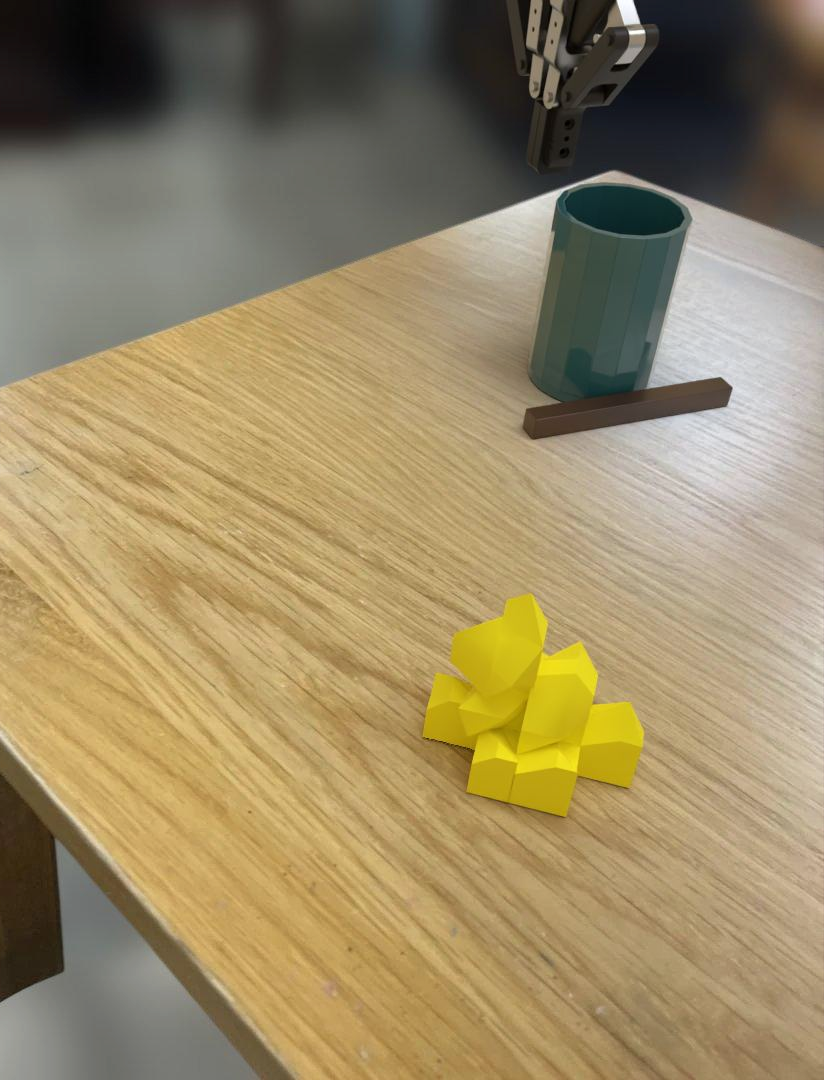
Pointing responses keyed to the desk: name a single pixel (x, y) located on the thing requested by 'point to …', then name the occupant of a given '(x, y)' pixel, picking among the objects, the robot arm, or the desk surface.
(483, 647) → the yellow faceted cluster
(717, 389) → the strip
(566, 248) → the cup
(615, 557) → the desk surface
